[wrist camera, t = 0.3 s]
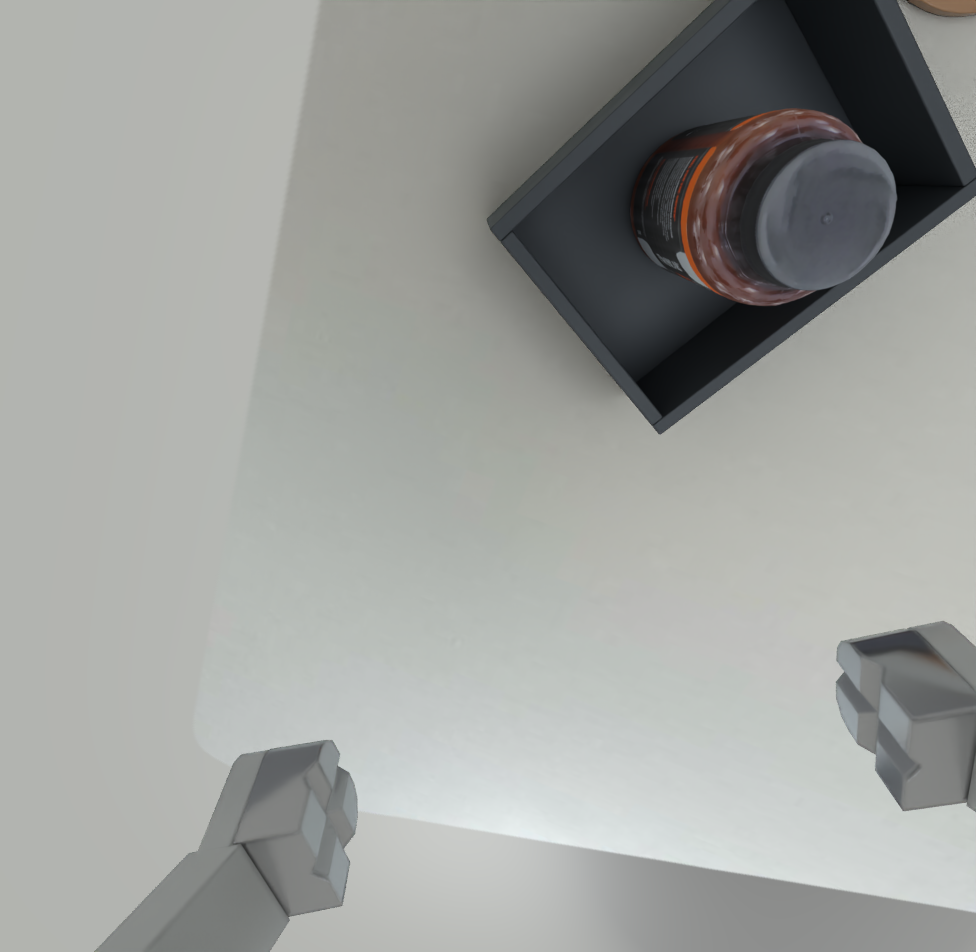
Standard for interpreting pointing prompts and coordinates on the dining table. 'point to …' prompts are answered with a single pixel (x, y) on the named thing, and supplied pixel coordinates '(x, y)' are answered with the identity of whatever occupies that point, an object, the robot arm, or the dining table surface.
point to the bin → (706, 100)
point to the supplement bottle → (764, 205)
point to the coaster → (947, 7)
